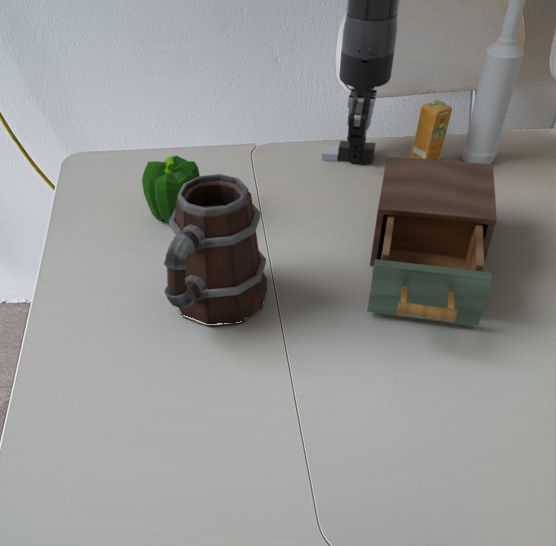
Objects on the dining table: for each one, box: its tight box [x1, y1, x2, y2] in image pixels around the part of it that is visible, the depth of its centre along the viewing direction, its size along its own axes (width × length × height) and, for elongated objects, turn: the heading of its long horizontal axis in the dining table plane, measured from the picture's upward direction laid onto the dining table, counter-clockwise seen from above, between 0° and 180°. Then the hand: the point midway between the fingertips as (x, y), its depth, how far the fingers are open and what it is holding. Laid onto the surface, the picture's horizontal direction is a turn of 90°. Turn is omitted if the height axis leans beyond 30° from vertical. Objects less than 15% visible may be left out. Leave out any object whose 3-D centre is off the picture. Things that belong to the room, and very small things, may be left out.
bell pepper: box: [141, 155, 201, 224], centre depth 93 cm, size 8×8×10 cm
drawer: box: [366, 215, 493, 327], centre depth 76 cm, size 17×12×7 cm
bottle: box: [461, 0, 527, 164], centre depth 94 cm, size 5×5×25 cm
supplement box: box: [410, 99, 453, 160], centre depth 99 cm, size 3×3×10 cm
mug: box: [163, 173, 268, 324], centre depth 75 cm, size 16×12×15 cm
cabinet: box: [369, 155, 498, 267], centre depth 85 cm, size 14×14×9 cm
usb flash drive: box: [321, 140, 376, 164], centre depth 105 cm, size 8×3×2 cm, turn 74°
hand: (355, 157), depth 105 cm, fingers closed on usb flash drive, 2 cm apart
